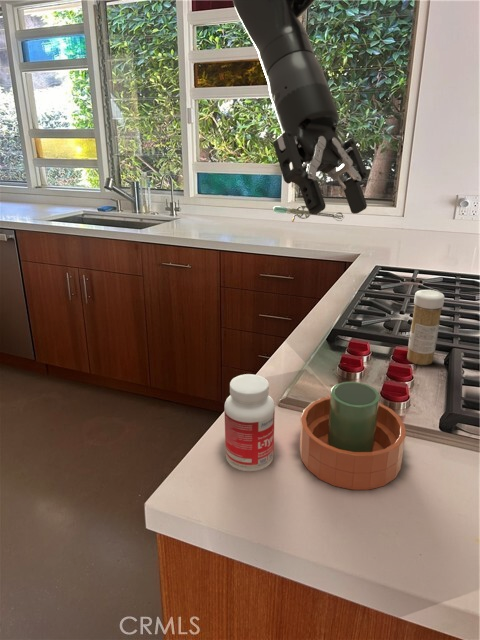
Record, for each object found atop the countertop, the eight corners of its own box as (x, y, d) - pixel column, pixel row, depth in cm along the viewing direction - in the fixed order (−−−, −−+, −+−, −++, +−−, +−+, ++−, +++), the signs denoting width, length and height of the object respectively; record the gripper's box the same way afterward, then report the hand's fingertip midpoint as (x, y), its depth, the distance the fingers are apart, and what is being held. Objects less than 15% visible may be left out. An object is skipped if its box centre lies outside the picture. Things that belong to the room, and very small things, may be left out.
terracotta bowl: (365, 422, 66) (369, 388, 64) (421, 480, 55) (428, 442, 53) (285, 439, 63) (286, 404, 61) (327, 504, 52) (330, 465, 50)
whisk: (341, 233, 200) (343, 220, 195) (269, 225, 207) (269, 212, 202) (344, 220, 207) (346, 207, 202) (274, 212, 214) (274, 199, 209)
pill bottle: (263, 480, 55) (264, 401, 51) (217, 467, 58) (214, 390, 53) (280, 449, 61) (282, 375, 56) (237, 438, 63) (236, 366, 59)
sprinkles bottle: (409, 357, 84) (419, 287, 79) (435, 363, 82) (447, 291, 77) (401, 367, 81) (411, 294, 76) (428, 374, 78) (441, 299, 73)
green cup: (357, 436, 62) (363, 377, 58) (381, 464, 57) (389, 401, 53) (318, 445, 60) (322, 385, 57) (340, 474, 55) (345, 410, 52)
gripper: (282, 71, 55) (325, 197, 53) (355, 89, 63) (394, 198, 62) (245, 111, 60) (282, 226, 58) (317, 122, 69) (352, 222, 67)
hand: (340, 211), depth 60 cm, fingers open, 8 cm apart
